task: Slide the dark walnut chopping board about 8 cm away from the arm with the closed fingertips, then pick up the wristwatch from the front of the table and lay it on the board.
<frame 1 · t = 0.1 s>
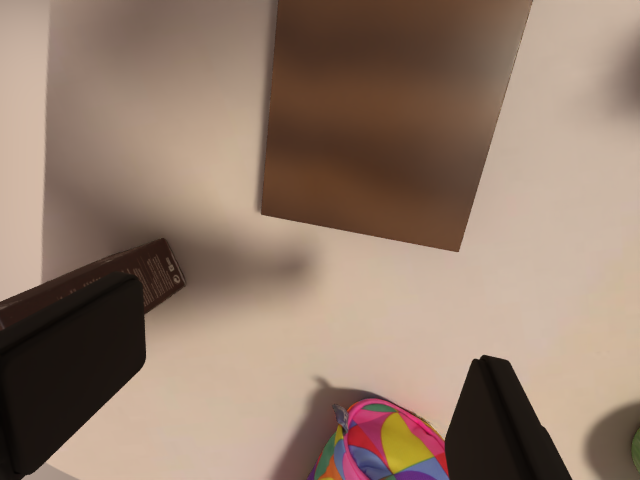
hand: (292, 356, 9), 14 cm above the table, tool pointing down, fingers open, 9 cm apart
box: (148, 267, 28), on the table
pencil case: (347, 474, 30), on the table
cutting board: (389, 55, 20), on the table
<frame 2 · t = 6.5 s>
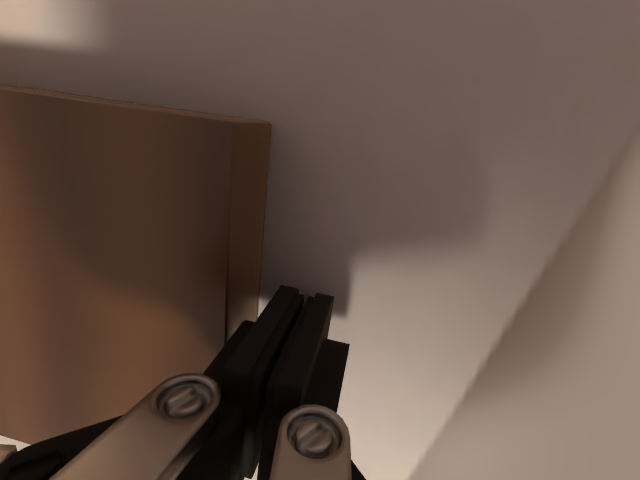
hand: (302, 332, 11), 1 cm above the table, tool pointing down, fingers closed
cutting board: (7, 253, 13), on the table, touching gripper
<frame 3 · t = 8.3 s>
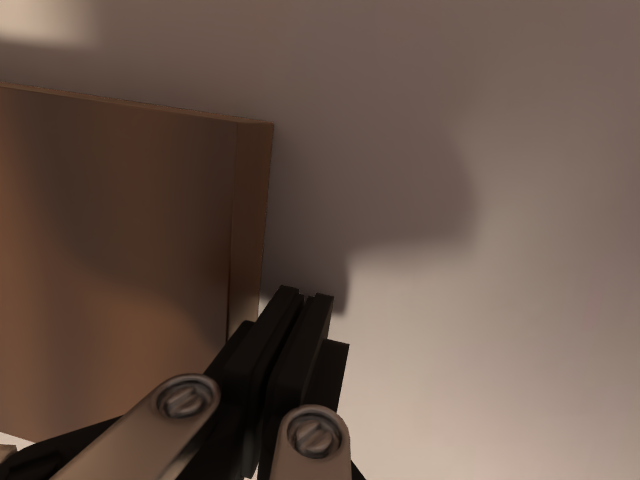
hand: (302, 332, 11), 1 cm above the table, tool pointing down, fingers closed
cutting board: (8, 250, 13), on the table, touching gripper
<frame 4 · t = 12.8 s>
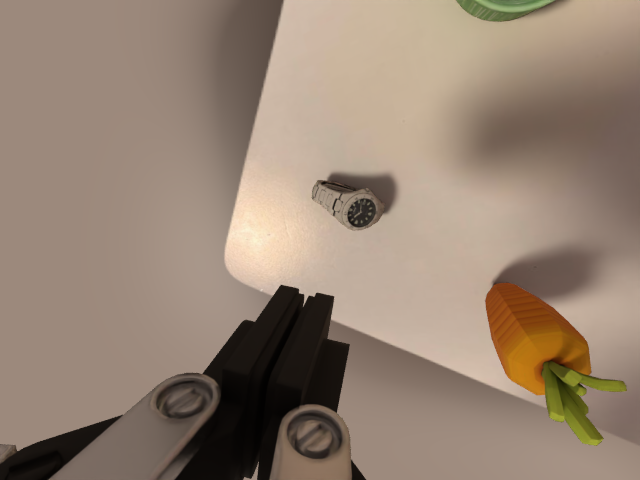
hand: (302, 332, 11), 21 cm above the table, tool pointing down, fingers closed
carrot: (496, 286, 31), on the table
wristwatch: (351, 194, 31), on the table
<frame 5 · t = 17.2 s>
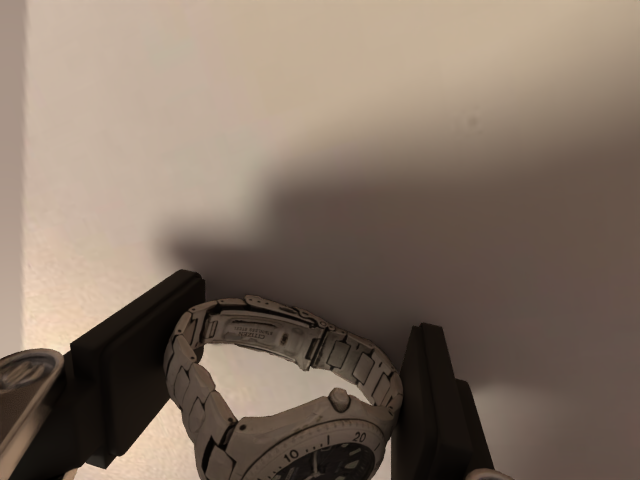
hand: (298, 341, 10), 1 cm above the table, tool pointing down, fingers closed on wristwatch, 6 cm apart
wristwatch: (306, 326, 11), on the table, touching gripper
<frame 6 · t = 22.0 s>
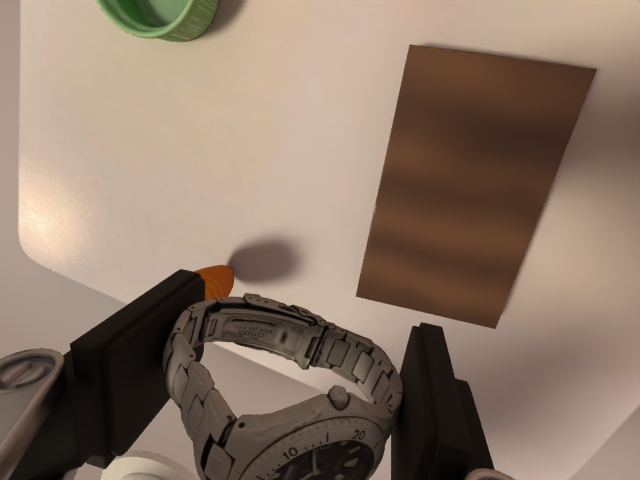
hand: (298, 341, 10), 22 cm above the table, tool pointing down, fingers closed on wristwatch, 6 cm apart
carrot: (230, 268, 35), on the table
wristwatch: (305, 325, 11), point 21 cm above the table, touching gripper
cutting board: (451, 194, 29), on the table
when the fingers open (3 cm above the table, at t = 27.2 s): wristwatch stays where it is, resting on cutting board.
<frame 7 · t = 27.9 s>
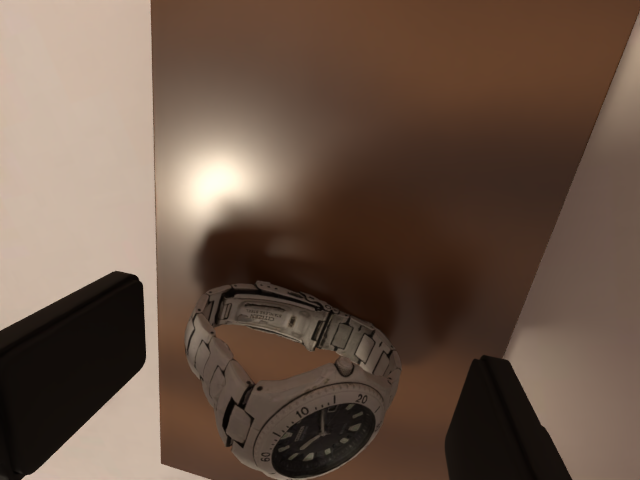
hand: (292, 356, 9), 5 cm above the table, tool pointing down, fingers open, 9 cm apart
wristwatch: (311, 311, 12), point 2 cm above the table, touching cutting board
cutting board: (331, 272, 14), on the table, touching wristwatch
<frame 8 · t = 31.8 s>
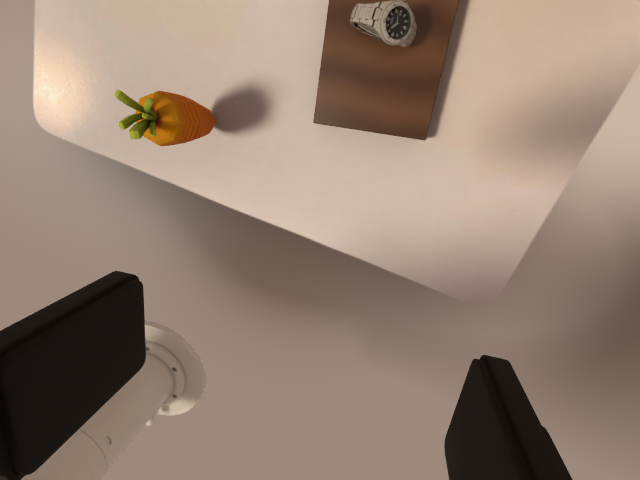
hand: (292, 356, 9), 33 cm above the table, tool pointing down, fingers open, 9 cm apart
carrot: (213, 120, 42), on the table
wristwatch: (384, 29, 33), point 2 cm above the table, touching cutting board
cutting board: (387, 30, 35), on the table, touching wristwatch
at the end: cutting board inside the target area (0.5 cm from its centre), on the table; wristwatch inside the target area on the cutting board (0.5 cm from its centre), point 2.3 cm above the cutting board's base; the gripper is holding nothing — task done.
